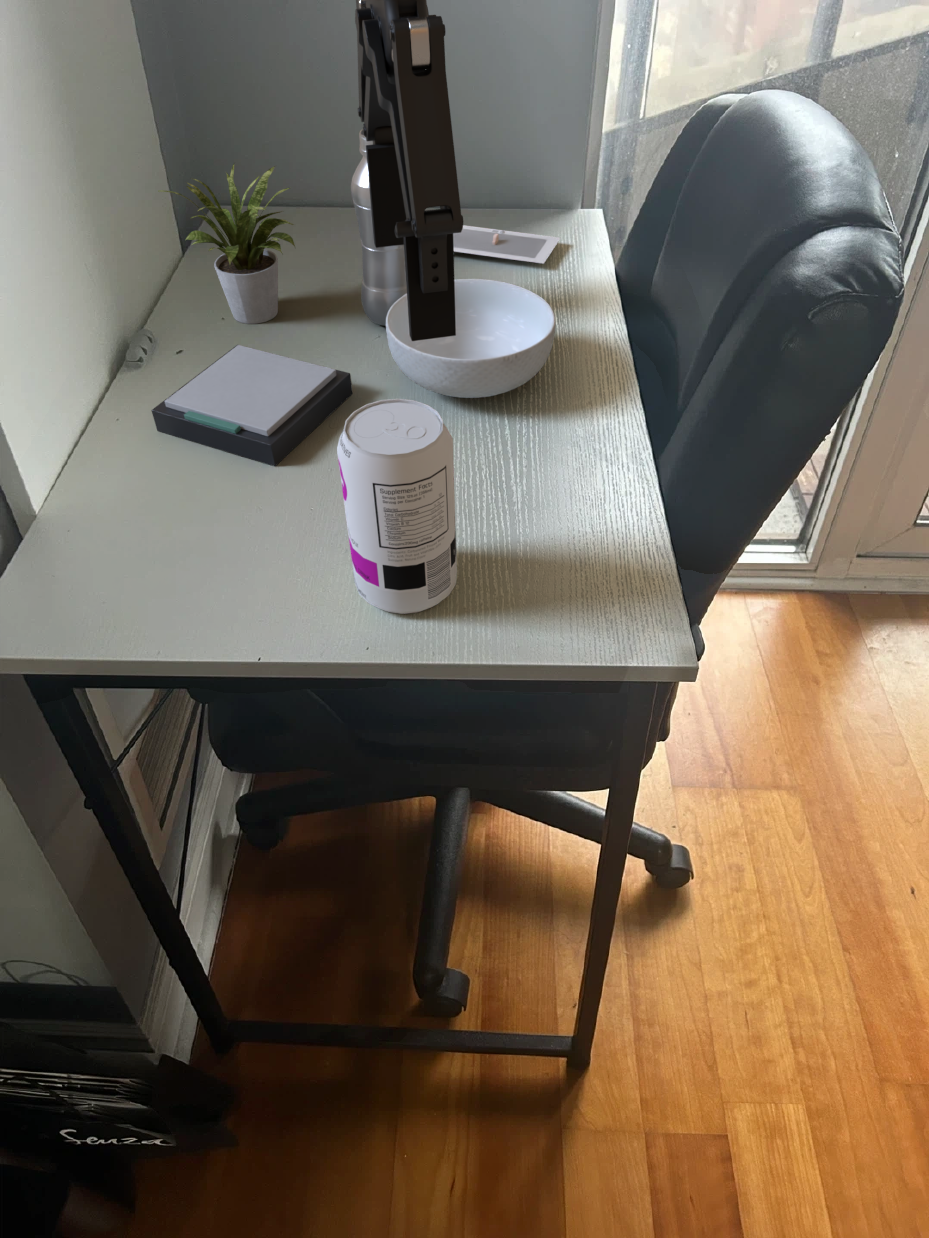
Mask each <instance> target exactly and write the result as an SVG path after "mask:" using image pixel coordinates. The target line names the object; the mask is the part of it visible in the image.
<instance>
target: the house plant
mask: <svg viewBox="0 0 929 1238" xmlns="http://www.w3.org/2000/svg"><path fill="white" fill-rule="evenodd" d="M275 167H276V165H274V166H272V167H270V168H268V169H267V170H266V171H265V172H264V173H263V174H262V175H261V176H260V175H258V176H257V177H256V178H255V179H253V181H252V182H251V183H250V184H249V186H248V187H247V188H246V190H245V191H244V194H243V195H242V199H240V194H239V191H238V189H237V185H236V184H235V181H234V175H235V174H234V173H235V163H233V164H232V167H231V169H230V174H229V173H228V172H227V171H225V173H226V180H227V182H228V183H227V184H228V193H229V197H230V207H231V212H230V211H229V209H227V208H222V206H221V204H220V203H219V200H218V198H217V197H216V195H215V194H214V191H212V189H211V188H210V187H209V186H208V185H207V184H206V183H204V182H203V181H201V180H199V179H196V178H191V177H190V179H191V180H194V181H196V182H198V183H200V184H201V185H202V186H203V187H204V188H205V189H206V190H207V191H208V193H209V194H210V195H211V197H212V199H210V198H209V196H207V195H206V194H205V193H204V192H203V191H202V190H201V189H200V188H199V187H198V186H197V185H194V184H192V183H189V182H187V181H185V183H187V185H186V188H187V189H189V191H190V192H191V193H193V194H195V196H196V197H197V199H198V200H199V201H200V202H201V204H203V205H204V206H203V207H201V208H200V206H198V205H197V204H196V203H194V201H193V200H191V199H190V198H188V197H187V196H185V195H183V194H182V193H179V192H177V191H172V190H163V189H162V190H159V193H160V192H161V193H162V192H163V193H164V192H165V193H171V194H176V195H178V196H181V197H183V198H185V199H187V200H188V201H190V203H192V204H193V205H195V206H196V207H197V208H198V210H197V211H196V212H200V211H201V212H202V213H203V214H204V215H201V214H198V215H194V216H191V219H193V218H196V217H198V218H200V219H202V220H203V221H204V222H205V223H206V224H208V225H209V227H210V228H211V229H212V230H213V231H214V233H215V234H216V236H217V237H218V238H219V240H218V239H216V238H215V237H214V236H213V235H211V234H209V233H207V232H204V231H202V230H193V231H191V232H189V233H188V235H187V236H186V237H185V241H186V240H187V241H194V242H193V243H192V245H196V244H197V245H198V244H205V243H207V244H215V246H218V247H215V246H214V247H211V248H209V249H208V252H210V251H212V250H215V249H217V250H218V251H221V253H222V254H220V255H219V256H218V257H217V258H216V259H215V261H214V263H213V264H214V265H213V267H214V270H215V273H216V275H217V277H218V280H219V282H220V286H221V288H222V291H223V294H224V295H225V298H226V301H227V304H228V306H229V309H230V311H231V314H232V317H233V318H234V320H235V321H237V322H239V323H242V324H247V325H251V324H252V325H253V324H254V325H257V324H262V323H266V322H268V321H271V320H272V319H274V318H275V317H276V316H277V315H278V312H279V258H278V256H277V254H276V253H275V252H273V251H272V250H270V249H274V250H276V251H277V252H280V253H281V254H282V255H284V253H283V251H282V247H281V244H280V243H279V242H280V240H283V241H286V242H288V243H290V244H291V245H292V246H293V247H294V248H296V245H295V241H294V238H293V237H292V236H291V235H289V234H288V233H286V232H282V231H281V232H280V231H279V232H277V231H276V232H273V230H274V229H275V228H277V227H278V226H281V225H285V224H289V225H292V226H295V224H294V223H292V222H289V221H288V220H287V219H283V218H276V217H270V216H272V215H276V214H280V213H282V212H284V210H281V211H275V212H270V213H267V214H263V212H264V210H265V211H267V207H268V206H269V205H270V204H271V202H272V201H273V200H274V199H275V198H276V197H277V196H279V195H280V194H282V193H284V192H285V191H287V190H289V189H290V187H287V188H283V189H280V190H279V191H277V192H276V193H275V194H273V196H272V197H271V198H270V199H269V201H267V203H266V204H265V206H264V207H263V206H261V204H262V201H263V199H264V196H265V194H266V193H267V190H268V184H269V178H270V176H271V175H272V173H273V172H274V169H275ZM257 181H258V182H257ZM256 182H257V183H256ZM255 183H256V185H255ZM254 185H255V188H254V189H253V191H252V194H251V196H250V198H249V201H248V204H247V206H246V208H247V209H246V210H244V211H242V209H243V205H244V204H245V201H246V200H245V199H246V198H247V195H248V193H249V192H250V190H251V189H252V187H253V186H254ZM212 200H213V201H214V203H215V204H214V203H213V201H212ZM203 209H208V210H209V212H210V213H211V214H212V215H213V217H214V218H215V220H216V221H217V223H218V225H219V226H220V228H221V229H220V228H219V226H217V224H216V223H215V222H214V221H213V220H212V219H211V218H210V217H209V215H207V214H206V213H205V212H204V211H203ZM259 210H262V212H261V213H260V215H259V214H258V213H259ZM231 213H232V214H231ZM262 214H263V215H262ZM258 223H260V224H259V226H258V228H257V229H256V227H257V225H258ZM222 230H223V231H222ZM255 230H256V231H255ZM223 232H224V233H223ZM254 232H255V233H254ZM272 232H273V233H272Z"/></svg>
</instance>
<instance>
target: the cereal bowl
mask: <svg viewBox="0 0 929 1238" xmlns="http://www.w3.org/2000/svg"><path fill="white" fill-rule="evenodd" d="M454 282H455V321H456V336H449V337H441V338H433V339H426V340H418V341H412V340H411V338H410V334H409V318H408V302H407V294H405V295H404V296H402V297H401V298H399V299H398V300H397V301H396V302H395V303H394V304H393V305H392V306H391V308H390V309H389V311H388V313H387V317H386V326H385V332H386V340H387V346H388V347H389V352H390V353H391V357H392V359H393V360H394V363H395V364H396V366H397V367H398V369H399V370H400V371H401V372H402V373H403V374H404V375H405V377H407V378H408V379H409V380H410V381H412V382H414V384H415V385H418V386H420V387H421V388H423V389H425V390H428V391H431V392H433V393H437V394H439V395H444V396H446V397H454V398H461V399H462V398H465V399H469V398H470V399H473V398H474V399H477V398H479V399H480V398H488V397H493V396H497V395H501V394H505V393H508V392H510V391H513V390H515V389H517V388H519V387H521V386H523V385H525V384H526V383H528V382H529V381H530V380H531V379H533V378H534V377H535V376H536V375H537V374H538V373H539V372H540V371H541V369H542V368H543V367H544V365H545V364H546V362H547V360H548V359H549V356H550V354H551V351H552V347H553V344H554V343H553V342H554V340H555V334H556V327H557V326H556V315H555V313H554V310H553V308H552V307H551V305H550V304H549V303H548V301H546V300H545V298H543V297H541V296H540V295H539V294H537V293H536V292H534V291H531V290H529V289H528V288H525V287H522V286H519V285H517V284H513V283H509V282H506V281H502V280H497V279H496V280H495V279H485V278H457V279H454Z"/></svg>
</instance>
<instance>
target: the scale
mask: <svg viewBox="0 0 929 1238" xmlns="http://www.w3.org/2000/svg"><path fill="white" fill-rule="evenodd" d="M353 394H354V393H353V385H352V375H351V372H349V371H348V372H347V371H344V370H340V369H335V368H332V367H328V366H323V365H319V364H315V363H312V362H307V361H304V360H300V359H296V358H293V357H288V356H285V355H280V354H277V353H273V352H269V351H266V350H260V349H256V348H253V347H250V346H249V347H248V346H245V345H241V344H236V345H234V346H233V347H232V348H231V349H229V350H228V351H227V352H225V353H224V354H223V355H222V356H220V357H219V358H218V359H217V360H215V361H214V362H213V363H211V364H210V365H209V366H207V367H206V368H204V369H203V370H202V371H201V372H199V373H198V374H197V375H195V376H194V377H193V378H191V379H190V380H189V381H188V382H186V383H185V384H183V386H181V387H180V388H178V389H177V390H175V391H174V392H173V393H172V394H171V395H169V396H168V397H166V398H165V399H164V400H163V401H161V402H160V403H159V404H157V405H156V406H155V407H154V408H152V409H151V414H152V418H153V420H154V424H155V427H156V431H157V432H159V433H163V434H166V435H170V436H172V437H176V438H179V439H183V440H187V441H189V442H193V443H196V444H199V445H203V446H205V447H209V448H213V449H216V450H219V451H222V452H226V453H229V454H232V455H236V456H240V457H242V458H246V459H249V460H253V461H255V462H258V463H259V462H260V463H263V464H266V465H269V466H273V467H276V466H277V465H279V464H280V463H281V462H282V461H283V460H284V459H285V458H286V457H288V455H289V454H290V453H291V452H293V450H294V449H295V448H297V447H298V446H299V445H300V444H301V443H302V442H303V441H304V440H305V439H306V438H307V437H309V436H310V434H312V432H314V431H315V430H316V429H317V428H318V427H319V426H320V425H321V424H322V423H323V422H324V421H325V420H326V419H327V418H328V417H329V416H331V415H332V414H333V413H334V412H335V411H336V410H337V409H338V408H340V406H342V404H343V403H345V402H346V400H348V399H349V398H350V397H352V395H353Z"/></svg>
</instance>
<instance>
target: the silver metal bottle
mask: <svg viewBox="0 0 929 1238" xmlns="http://www.w3.org/2000/svg"><path fill="white" fill-rule="evenodd" d="M358 133H359V134H358V138H359V139H358V140H359V147H358V148H359V149H358V150H359V154H360V155H362V158H361V160H360V161H359V163H358V165H357V167H356V168H355V171H354V173H353V174H352V178H351V183H350V193H351V198H352V203H353V208H354V211H355V216H356V220H357V224H358V225H357V226H358V231H359V238H360V245H361V252H362V253H361V254H362V255H361V256H362V258H361V259H362V280H361V288H360V289H361V290H360V291H361V293H360V295H361V297H360V298H361V299H360V300H361V301H360V302H361V305H362V308H363V312H364V314H365V315H366V317H367V318H368V319H369V320H370V321H371V322H372V323H375V324H376V325H380V326H385V327H386V317H387V313H388V311H389V309H390V308H391V306H392V305H393V304H394V303H395V302H396V301H397V300H398V299H399V298H401V297H402V296H404V295H405V294H407V286H406V271H405V255H404V245H396V246H387V247H379V248H376V247H375V244H374V236H373V224H372V212H371V201H370V189H369V177H368V166H367V154H366V145H373V141H366V137H365V136H364V135H363V128H361V130H359V132H358Z"/></svg>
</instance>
